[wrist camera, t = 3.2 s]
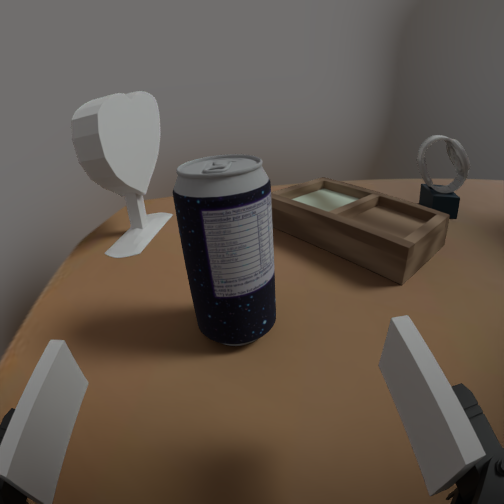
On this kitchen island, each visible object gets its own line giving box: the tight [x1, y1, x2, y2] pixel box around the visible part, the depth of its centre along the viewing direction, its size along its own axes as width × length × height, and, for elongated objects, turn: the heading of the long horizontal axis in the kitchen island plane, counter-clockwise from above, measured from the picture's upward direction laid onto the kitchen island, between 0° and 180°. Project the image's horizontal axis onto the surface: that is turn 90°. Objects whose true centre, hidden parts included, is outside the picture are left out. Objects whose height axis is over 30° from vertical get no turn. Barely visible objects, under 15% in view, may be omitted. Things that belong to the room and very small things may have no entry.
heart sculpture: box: [71, 91, 173, 258], centre depth 36 cm, size 16×5×18 cm, turn 173°
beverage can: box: [173, 154, 276, 346], centre depth 21 cm, size 6×6×12 cm
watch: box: [417, 135, 470, 219], centre depth 38 cm, size 6×8×11 cm
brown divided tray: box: [271, 177, 450, 285], centre depth 35 cm, size 11×19×4 cm, turn 38°
